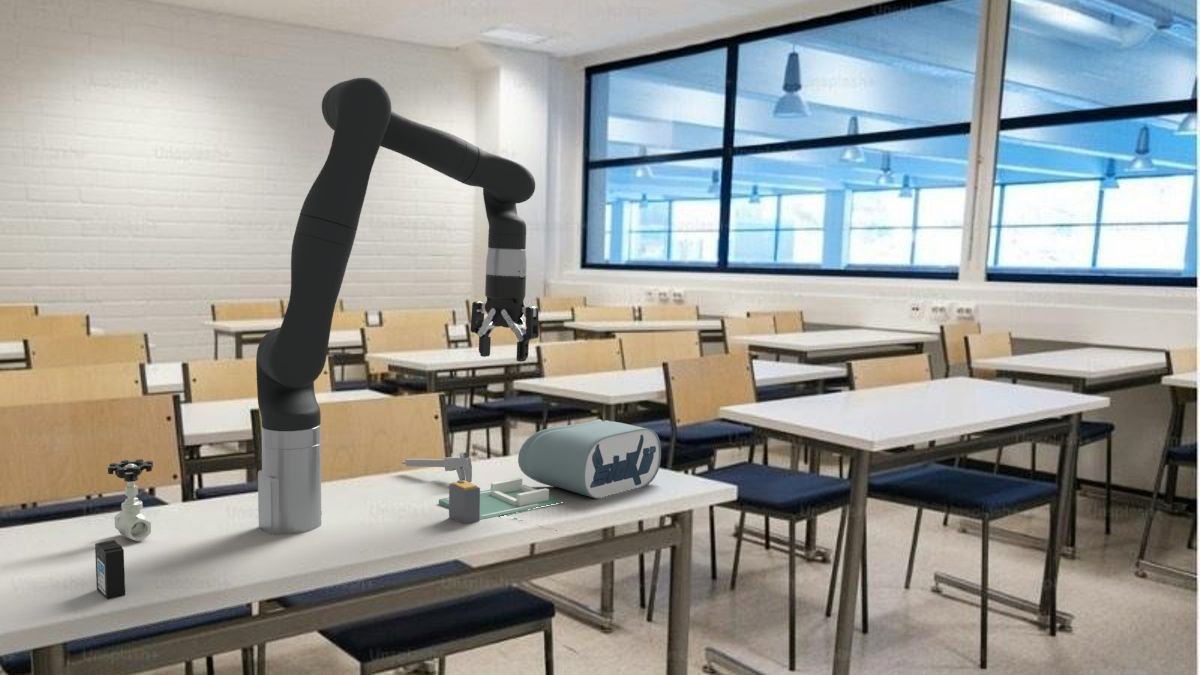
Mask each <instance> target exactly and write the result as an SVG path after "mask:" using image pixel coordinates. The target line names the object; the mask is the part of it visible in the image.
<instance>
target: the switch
mask: <svg viewBox="0 0 1200 675" xmlns="http://www.w3.org/2000/svg"><path fill="white" fill-rule="evenodd" d="M448 489H449V490H448V498H449V508H448V519H451V520H453V521H456V522H458V523H460V524H463V525H467V524H472V523H477V522H480V521H481V520H480V491H481V488H480V487H479V486H478V485H477V484H474V483H473V482H472V483H471V482H467V481H466V479H465V480H463V481H461V480H459V479H458V480H457V481H452V482H451V483H448Z"/></svg>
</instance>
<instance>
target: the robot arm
mask: <svg viewBox="0 0 1200 675" xmlns="http://www.w3.org/2000/svg"><path fill="white" fill-rule="evenodd" d="M321 113H322V117H323V119H324V121H325V122H326V124H327V125H328V126H329V127H330V129H332V131H333V132H334V133H333V136H332V141H331V146H330V148H329V153H328V155H327V157H326V160H325V162H324V165H323V166H322V168H321V170H320V171H319V173H318V175H317V176H316V178H315V180H314V182H313V184H312V186H311V187H310V189H309V191H308V192H307V195H306V197H305V198H304V201H303V204H302V207H301V209H300V213H299V216H298V219H297V222H296V223H297V224H296V226H295V231H294V235H293V240H292V245H291V252H290V255H291V256H290V294H289V300H288V303H287V308H286V310H285V314H284V317H283V320H282V322H281V325H280V327H276V328H274V329H271V330H270V331H268V332H267V333H266V334H265V335H264V336H263V337H262V338H261V340H260V342H259V344H258V347H257V349H256V356H255V357H256V361H255V362H256V363H255V364H256V366H255V367H256V388H257V389H256V392H257V394H256V395H257V404H258V405H257V406H258V409H259V410H258V411H259V413H260V418H261V419H260V420H261V466H262V467H261V469H260V470H258V472H257V495H258V496H257V500H258V503H257V504H258V507H257V508H258V527H259V528H260V529H261V530H263V531H265V533H266V534H268V533H269V534H268V535H270V536H277V534H278V535H293V534H294V535H295V534H301V533H306V532H310V531H313V530H316V529H318V528H320V527H321V526H322V515H323V514H322V512H323V511H322V459H321V458H322V454H321V453H322V450H321V449H322V447H321V446H322V442H321V439H322V438H321V423H322V422H321V421H322V420H321V415H322V414H321V409H320V406H319V403H318V401H317V397H316V392H315V381H316V380H317V379H318V378H319V377H320V375H321V374H322V372H323V370H324V368H325V366H326V361H327V357H328V356H327V355H328V349H329V342H330V336H331V335H330V334H331V330H332V323H333V319H334V318H333V317H334V313H335V308H336V303H337V301H338V296H339V294H340V291H341V288H342V284H343V281H344V278H345V273H346V269H347V266H348V263H349V259H350V256H351V253H352V251H353V250H352V249H353V247H354V242H355V240H356V235H357V230H358V226H359V222H360V217H361V213H362V209H363V205H364V202H365V198H366V194H367V190H368V185H369V181H370V176H371V173H372V168H373V166H374V164H375V160H376V158H377V155H378V152H379V150H380V147H382V148H385V149H387V150H390V151H392V152H396V153H397V154H400V155H402V156H405V157H407V158H408V159H412V160H414V161H416V162H418V163H420V164H422V165H424V166H427V167H428V168H431V170H432V169H433V171H436V172H439V173H441V174H443V175H444V176H447V177H448V178H451V179H453V180H455V181H457V182H460V183H461V184H463V185H467V186H471V187H478V188H481V189H482V195H483V202H484V207H485V208H484V209H485V213H486V218H487V221H488V222H487V223H488V236H487V237H488V239H487V240H488V241H487V255H486V259H485V260H486V263H485V290H484V295H485V297H486V301H479V300H478V301H473V302H472V305H471V317H470V318H471V319H470V329H469V330H470V332H471V333H474V334H476V335H477V336H478V352H479V356H480V357H484V358H486V357H490V355H491V344H492V343H491V340H492V339H491V338H492V337H491V336H490V335H491V334H492V333H493V331H495V330H494V329H496V328H497V327H503V328H507V329H508V328H509V329H510V332H512V333H514V335H515V337H516V339H517V340H518V341H517V342H516V362H519V363H523V362H526V361H527V359H528V357H529V349H530V348H529V347H530V346H529V344H530V341H532V340H534V339H538V338H539V336H540V334H539V330H540V329H539V325H540V324H539V308H538V306H535V305H533V306H525V304H524V303H525V302H524V300H525V297H526V285H527V284H526V282H527V254H526V248H527V243H526V242H527V224H526V222H525V220H524V219H522V218H520V217H519V216H518V210H517V209H518V208H517V204H521V203H524V202H526V201H528V200H529V199H531V198H532V197H533V195H534V193H535V190H536V181H535V178H534V175H533V174H532V172H531V171H530V169H528V168H527V167H526V166H524V165H522V164H520V163H518V162H517V161H515V160H512V159H509V158H506V157H503V156H500V155H499V154H498V155H497V154H494V153H490V152H488V151H485V150H483V149H482V148H480V147H479V146H476V145H475V144H473V143H471V142H469V141H467V140H465V139H463V138H461V137H459V136H457V135H454V134H452V133H450V132H447V131H444V130H442V129H438V128H435V127H432V126H428V125H426V124H423V123H420V122H417V121H414V120H411V119H409V118H407V117H404V116H403V115H400V114H399V113H396V112H394V111H392V102H391V98H390V94H389V93H388V90H387V89H386V88H385V86H384V85H383V84H382V83H381V82H380V81H378V80H376V79H374V78H371V77H357V78H352V79H347V80H345V81H341V82H339V83H336V84H334V85H332V87H330V88H329V89H328V90H327V91H326V92H325V93H324V96H323V98H322V100H321ZM486 313H487V315H486V317H485V314H486ZM523 317H525V321H524V319H523Z"/></svg>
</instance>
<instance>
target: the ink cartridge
mask: <svg viewBox="0 0 1200 675" xmlns="http://www.w3.org/2000/svg"><path fill="white" fill-rule="evenodd" d="M94 546H95V548H94V550H95V551H94V552H95V553H94V554H95V573H96V574H95V578H96V581H95V582H96V591H97V592H98V593H100V594H101V595H102V596H103V598H105V599H106V600H110V599H114V598H119V597H124V596H126V582H125V579H126V577H125V574H126V573H125V550H124V548H123V547H122V545H121V544H119V543H118V542H117V541H116V540H115V539H112V540H111V539H110V540H107V541H101V542H96V543H95V544H94Z"/></svg>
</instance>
